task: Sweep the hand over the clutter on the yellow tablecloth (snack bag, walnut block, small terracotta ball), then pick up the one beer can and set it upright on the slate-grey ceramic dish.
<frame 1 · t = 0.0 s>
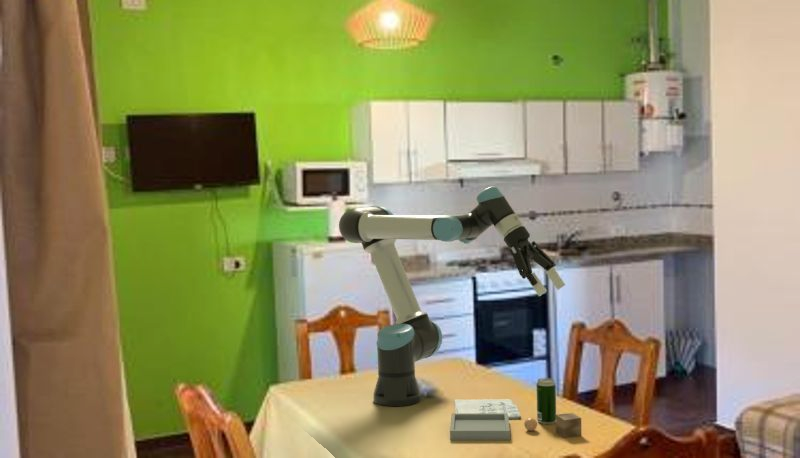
hand: (552, 290, 244), 36 cm above the table, tool tilted 35°, fingers open, 13 cm apart
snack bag: (486, 412, 248), on the table
walnut block: (568, 434, 223), on the table
dish: (479, 430, 229), on the table
beer can: (546, 422, 235), on the table
terracotta ball: (530, 424, 227), point 2 cm above the table
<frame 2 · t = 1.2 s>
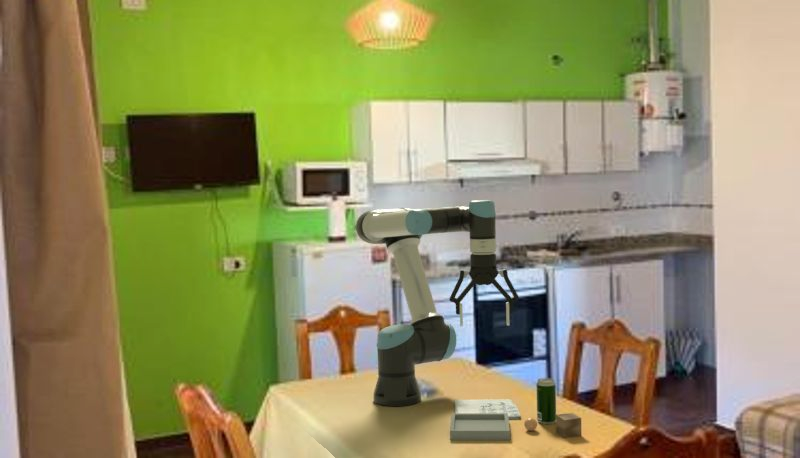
hand: (484, 325, 242), 27 cm above the table, tool pointing down, fingers open, 13 cm apart
nothing on the table moved.
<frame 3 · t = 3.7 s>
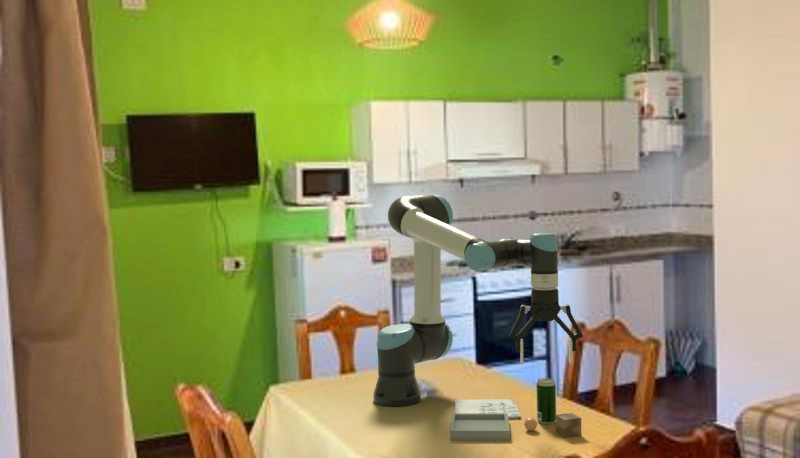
hand: (546, 362, 232), 17 cm above the table, tool pointing down, fingers open, 13 cm apart
nothing on the table moved.
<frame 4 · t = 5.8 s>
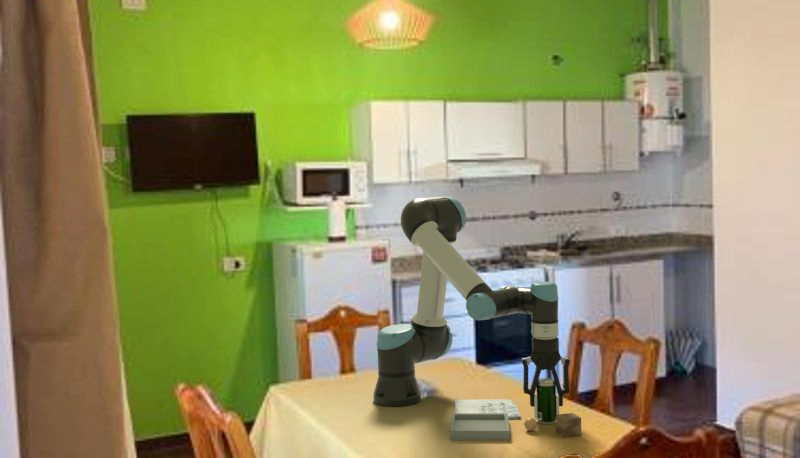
hand: (546, 417, 235), 1 cm above the table, tool pointing down, fingers closed on beer can, 5 cm apart
beer can: (546, 422, 235), on the table, touching gripper
everything else where it was.
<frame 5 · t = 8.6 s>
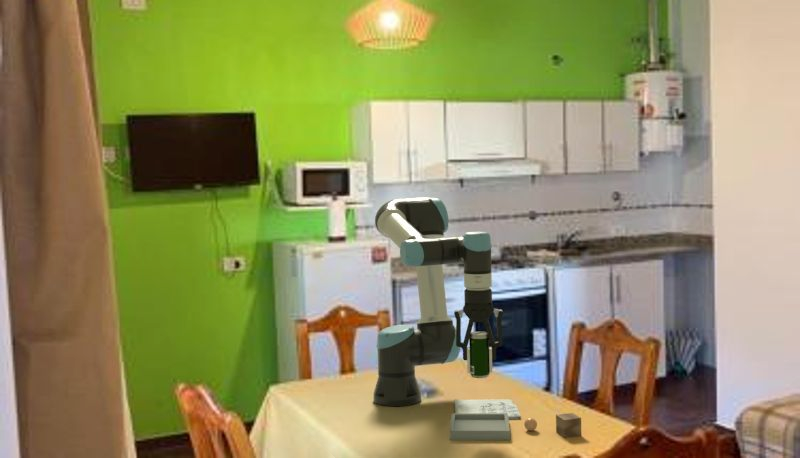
hand: (479, 371, 228), 17 cm above the table, tool pointing down, fingers closed on beer can, 5 cm apart
beer can: (479, 376, 228), point 15 cm above the table, touching gripper
everything else where it was.
when the fingers open (4 cm above the table, at t = 11.3 s): beer can drops 1 cm, resting on dish.
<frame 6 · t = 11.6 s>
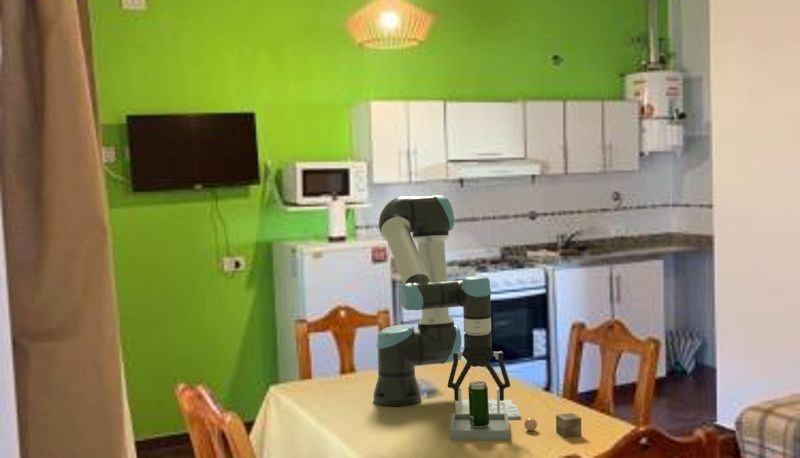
hand: (479, 412, 228), 5 cm above the table, tool pointing down, fingers open, 10 cm apart
beer can: (479, 426, 229), point 1 cm above the table, touching dish
everything else where it was.
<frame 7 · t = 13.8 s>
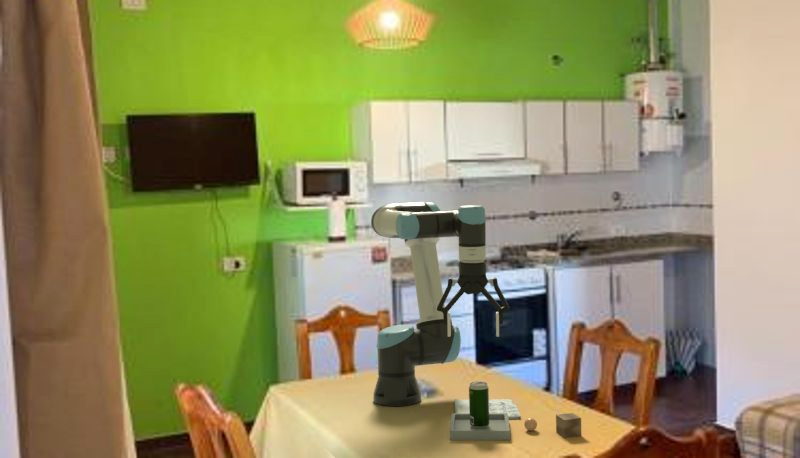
hand: (473, 335, 232), 26 cm above the table, tool pointing down, fingers open, 13 cm apart
nothing on the table moved.
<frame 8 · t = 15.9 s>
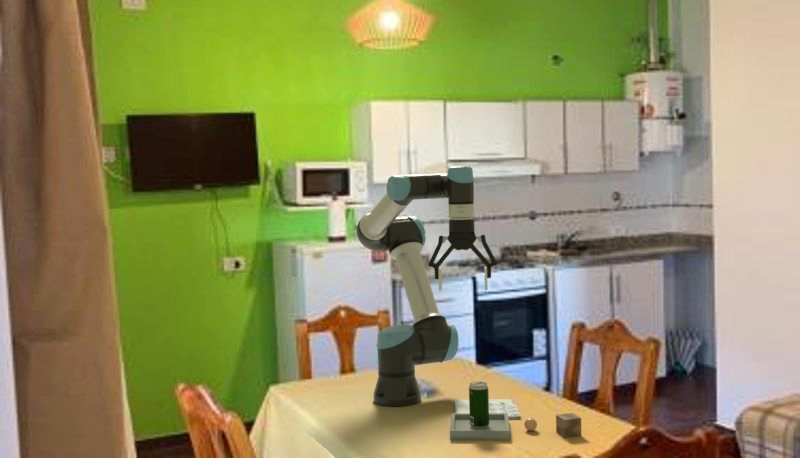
hand: (463, 289, 245), 37 cm above the table, tool pointing down, fingers open, 13 cm apart
nothing on the table moved.
at the end: beer can inside the target area on the dish (0.0 cm from its centre), point 1.0 cm above the dish's base; beer can tilted 0°; the gripper is holding nothing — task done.
